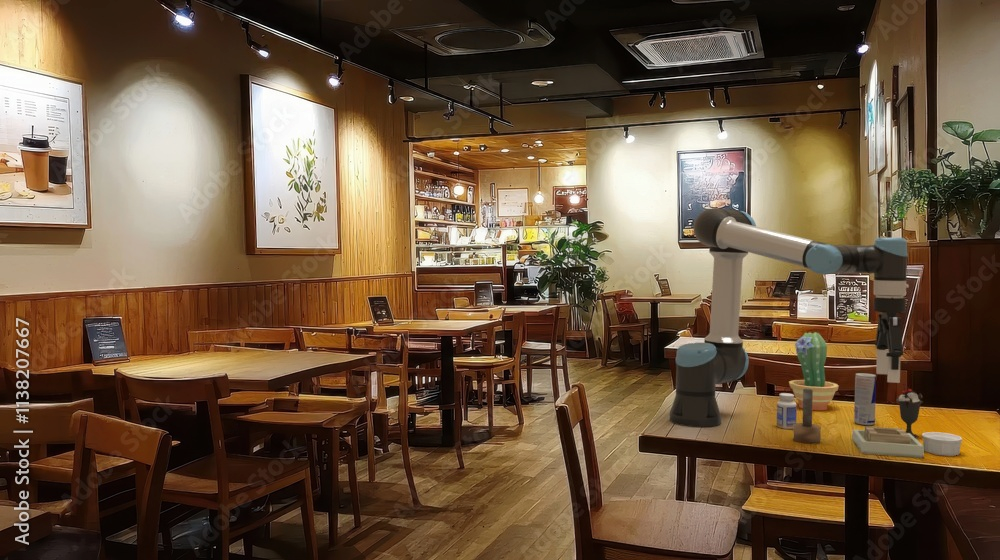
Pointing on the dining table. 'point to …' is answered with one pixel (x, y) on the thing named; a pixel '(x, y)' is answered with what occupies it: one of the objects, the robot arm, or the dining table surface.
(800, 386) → the potted cactus
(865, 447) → the tray
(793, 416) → the pill bottle
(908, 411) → the sundae
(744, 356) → the robot arm
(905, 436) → the ring
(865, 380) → the beverage can
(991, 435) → the dining table surface
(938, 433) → the ramekin
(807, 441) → the stake
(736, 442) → the dining table surface
